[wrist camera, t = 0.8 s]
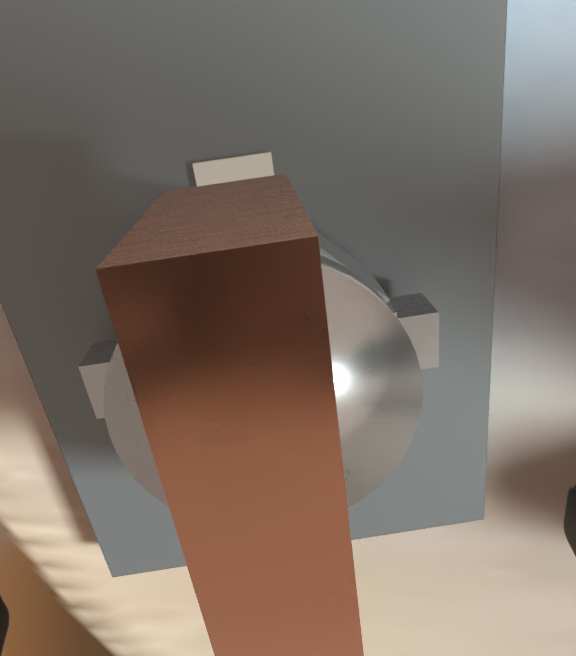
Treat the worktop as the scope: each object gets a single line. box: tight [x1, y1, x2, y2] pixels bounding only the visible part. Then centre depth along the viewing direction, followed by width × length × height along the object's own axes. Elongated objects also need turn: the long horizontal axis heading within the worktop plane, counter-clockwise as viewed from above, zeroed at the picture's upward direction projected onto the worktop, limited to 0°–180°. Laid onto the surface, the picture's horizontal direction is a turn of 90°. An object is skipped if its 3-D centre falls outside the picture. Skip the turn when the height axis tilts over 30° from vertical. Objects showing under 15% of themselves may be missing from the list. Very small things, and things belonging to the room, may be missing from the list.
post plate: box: [0, 0, 507, 577], centre depth 14 cm, size 14×18×4 cm
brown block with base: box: [78, 174, 439, 656], centre depth 11 cm, size 9×10×8 cm
